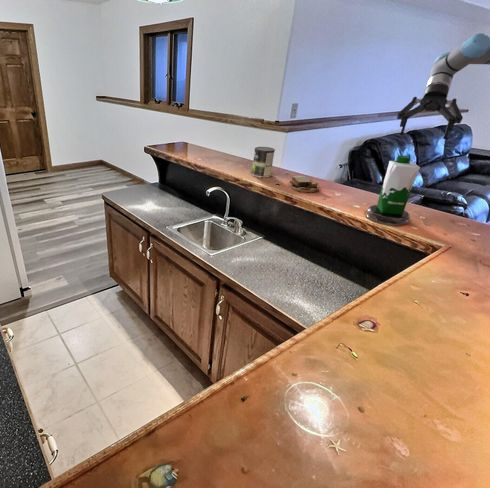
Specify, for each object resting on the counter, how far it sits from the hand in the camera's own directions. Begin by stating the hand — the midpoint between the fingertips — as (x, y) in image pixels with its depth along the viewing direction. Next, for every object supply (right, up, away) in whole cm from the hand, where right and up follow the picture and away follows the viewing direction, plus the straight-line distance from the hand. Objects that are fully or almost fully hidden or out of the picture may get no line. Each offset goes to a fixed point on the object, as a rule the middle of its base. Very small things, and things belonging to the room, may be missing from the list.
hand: (423, 135), depth 131 cm
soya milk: (-11, -28, +2) cm, 31 cm away
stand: (-11, -31, +4) cm, 34 cm away
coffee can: (-45, -4, +58) cm, 73 cm away
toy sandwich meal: (-30, -14, +37) cm, 50 cm away
